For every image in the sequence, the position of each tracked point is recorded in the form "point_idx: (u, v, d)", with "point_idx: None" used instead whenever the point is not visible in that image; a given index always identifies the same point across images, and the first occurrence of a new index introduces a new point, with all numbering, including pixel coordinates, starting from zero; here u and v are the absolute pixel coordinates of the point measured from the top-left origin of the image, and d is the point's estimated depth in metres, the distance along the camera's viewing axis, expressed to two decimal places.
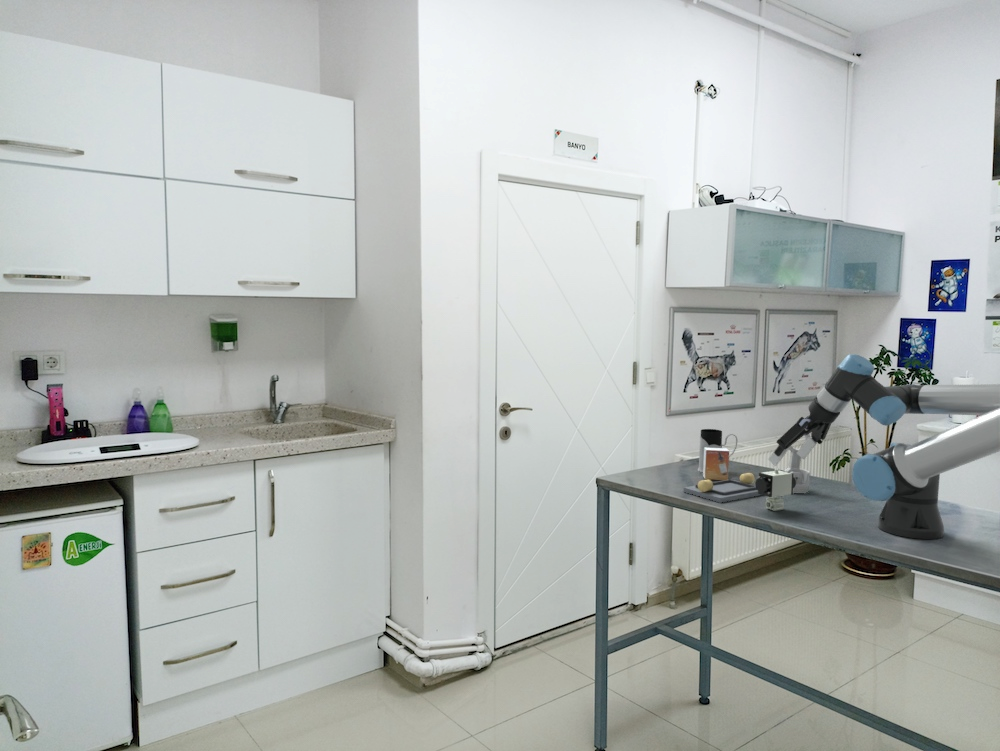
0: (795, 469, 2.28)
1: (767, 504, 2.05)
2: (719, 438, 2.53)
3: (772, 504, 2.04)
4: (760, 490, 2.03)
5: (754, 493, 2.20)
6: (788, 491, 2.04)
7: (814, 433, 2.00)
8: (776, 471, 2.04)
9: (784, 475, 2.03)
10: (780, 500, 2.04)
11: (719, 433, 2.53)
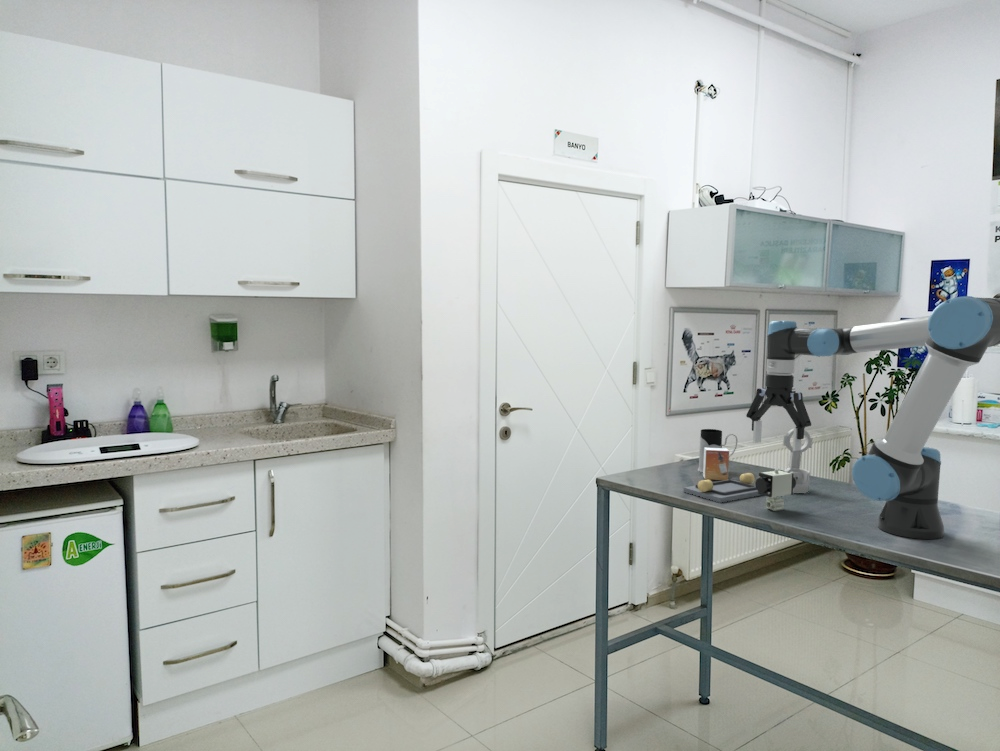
0: (795, 469, 2.28)
1: (767, 504, 2.05)
2: (719, 438, 2.53)
3: (772, 504, 2.04)
4: (760, 490, 2.03)
5: (754, 493, 2.20)
6: (788, 491, 2.04)
7: (762, 412, 2.08)
8: (776, 471, 2.04)
9: (784, 475, 2.03)
10: (780, 500, 2.04)
11: (719, 433, 2.53)
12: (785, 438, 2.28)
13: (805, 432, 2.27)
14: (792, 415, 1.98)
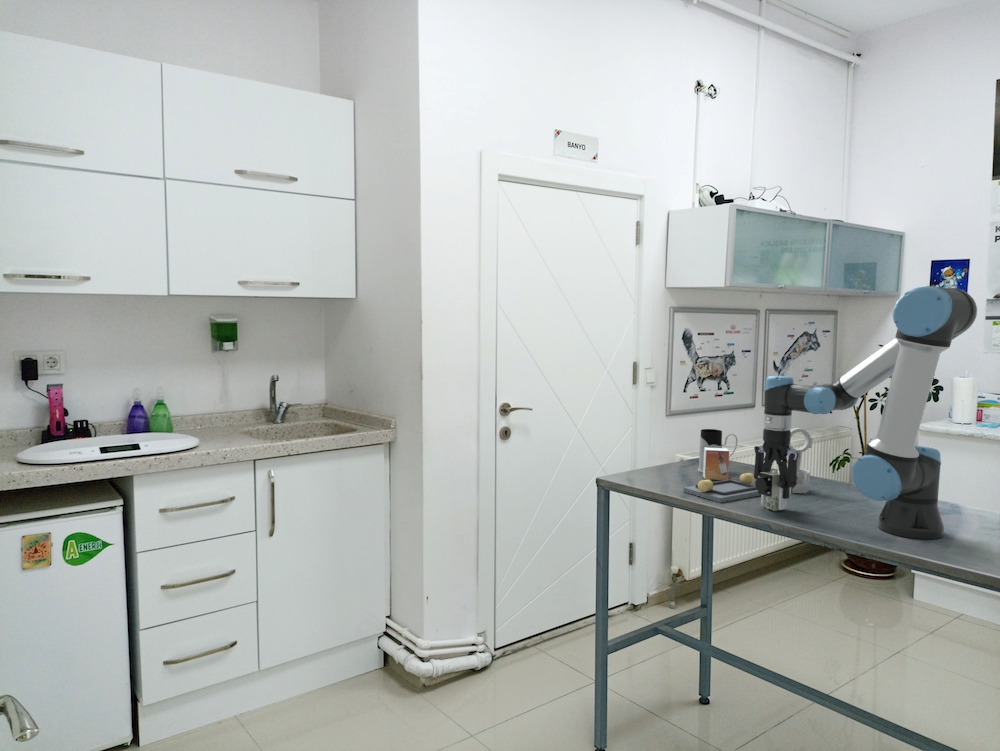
0: None
1: (767, 504, 2.05)
2: (719, 438, 2.53)
3: (772, 504, 2.04)
4: (760, 490, 2.03)
5: (754, 493, 2.20)
6: None
7: (767, 470, 2.07)
8: (776, 471, 2.05)
9: None
10: None
11: (719, 433, 2.53)
12: None
13: (805, 432, 2.27)
14: (782, 474, 2.02)
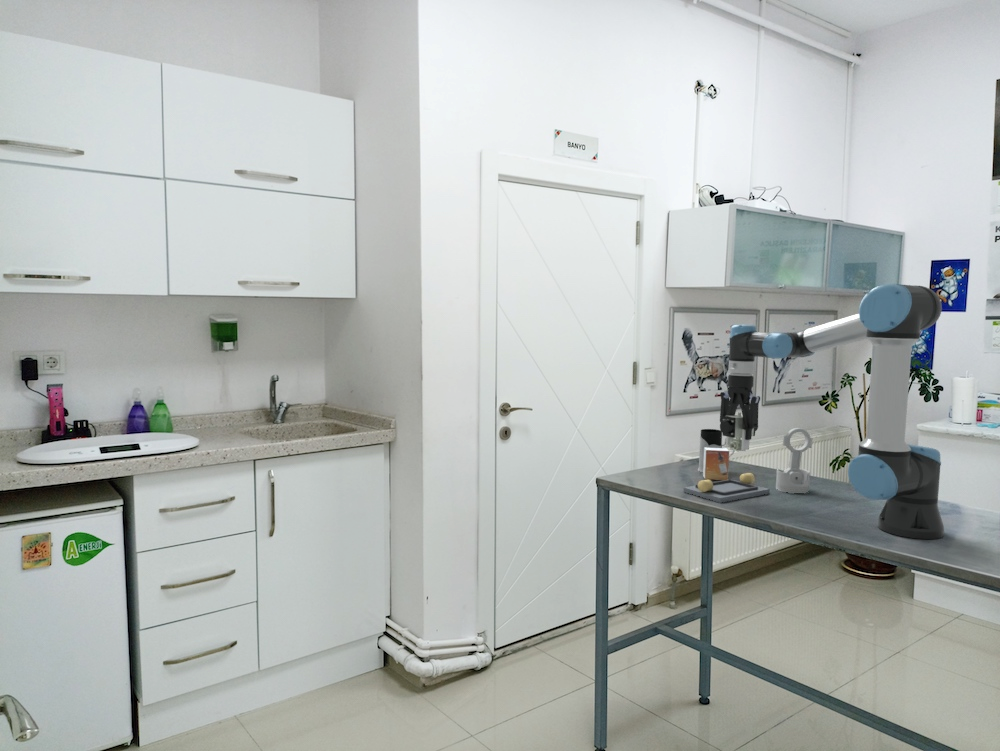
0: (795, 469, 2.28)
1: (731, 445, 2.19)
2: (719, 438, 2.53)
3: (735, 445, 2.17)
4: (724, 431, 2.16)
5: (754, 493, 2.20)
6: None
7: (732, 414, 2.21)
8: (739, 414, 2.18)
9: None
10: None
11: (719, 433, 2.53)
12: (785, 438, 2.28)
13: (805, 432, 2.27)
14: (744, 416, 2.15)
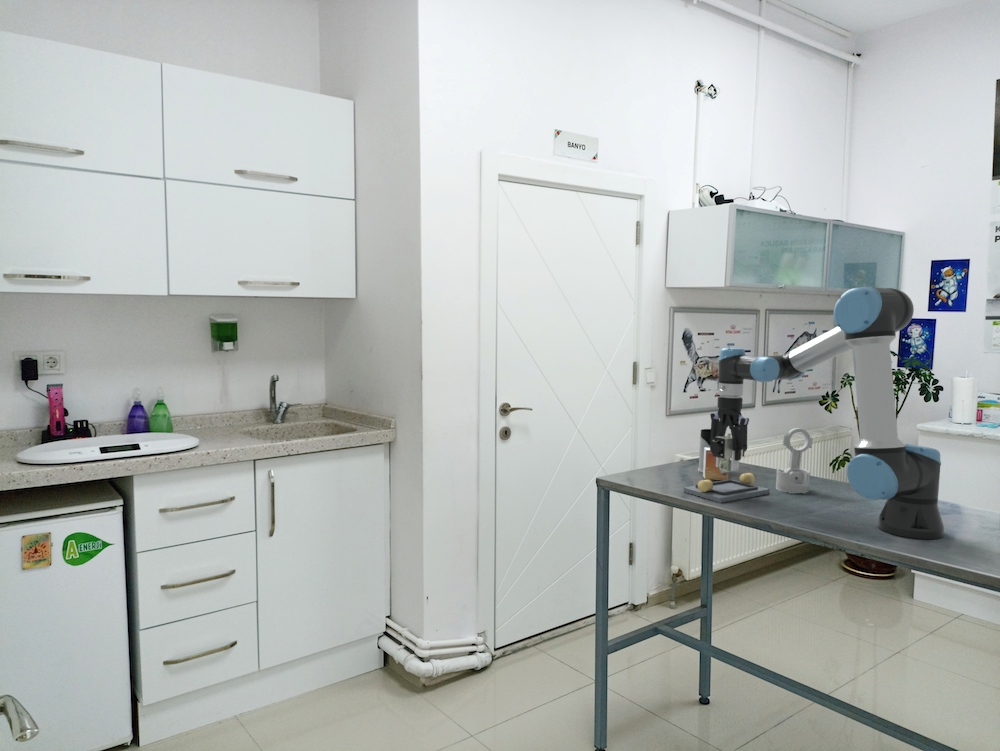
0: (795, 469, 2.28)
1: (721, 466, 2.23)
2: None
3: (725, 465, 2.22)
4: (714, 452, 2.21)
5: (754, 493, 2.20)
6: None
7: (722, 435, 2.25)
8: (729, 435, 2.23)
9: None
10: None
11: None
12: (785, 438, 2.28)
13: (805, 432, 2.27)
14: (734, 437, 2.20)
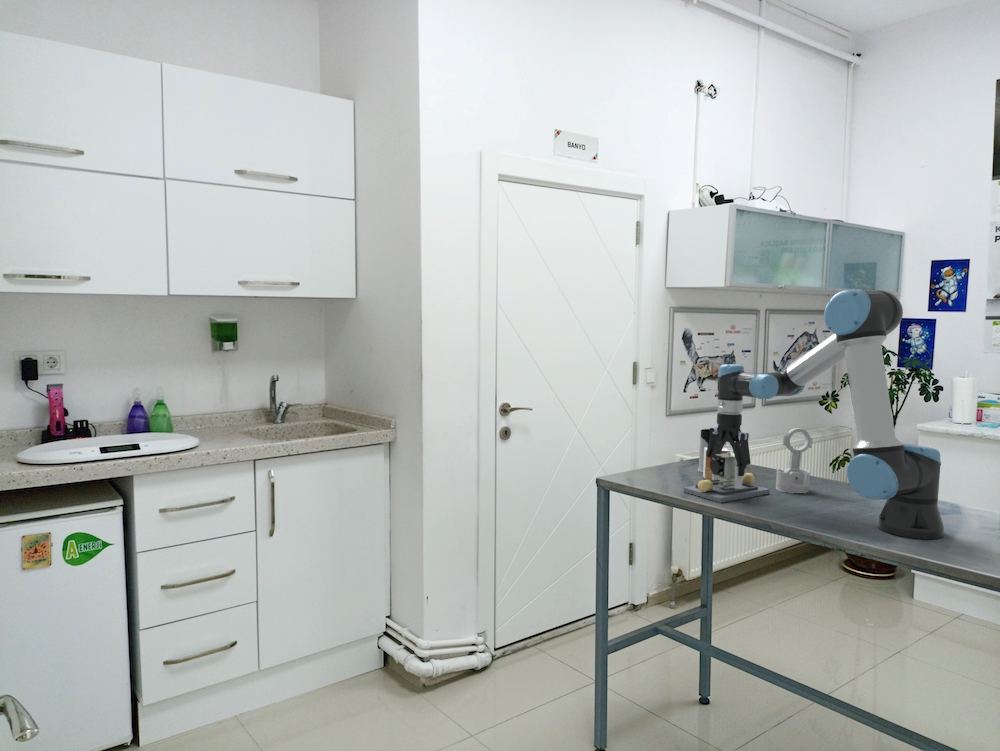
0: (795, 469, 2.28)
1: (720, 483, 2.24)
2: None
3: (725, 483, 2.22)
4: (714, 470, 2.21)
5: (754, 493, 2.20)
6: None
7: (719, 450, 2.26)
8: (729, 453, 2.23)
9: None
10: (732, 480, 2.23)
11: None
12: (785, 438, 2.28)
13: (805, 432, 2.27)
14: (736, 453, 2.19)
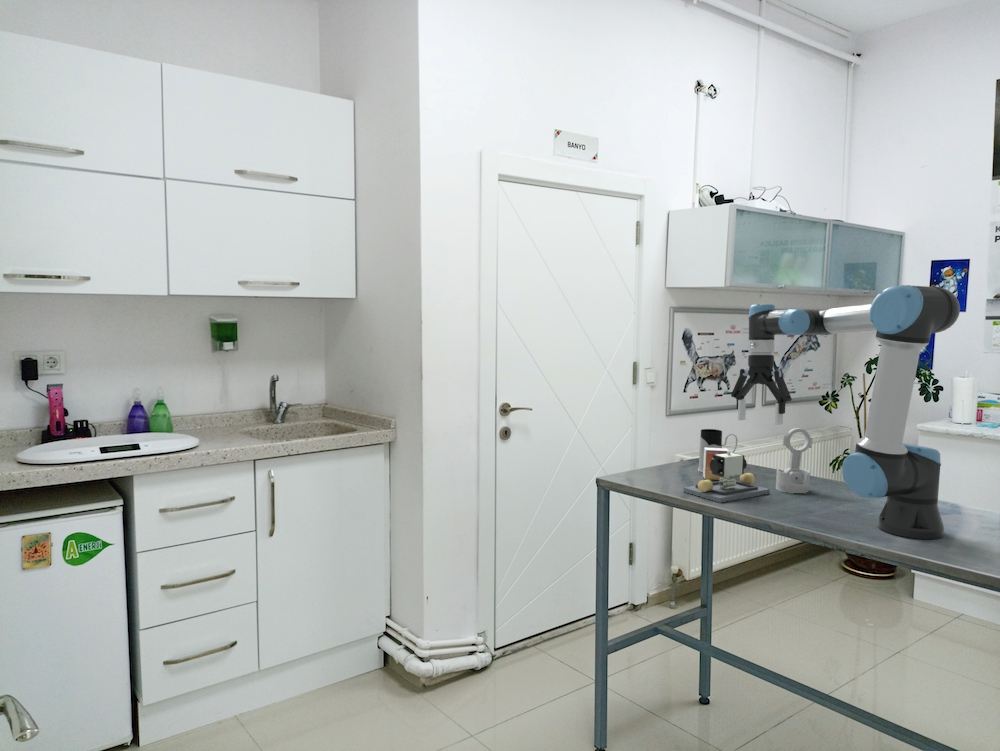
0: (795, 469, 2.28)
1: (720, 483, 2.24)
2: (719, 438, 2.53)
3: (725, 483, 2.22)
4: (713, 470, 2.21)
5: (754, 493, 2.20)
6: (739, 471, 2.23)
7: (746, 391, 2.21)
8: (728, 453, 2.23)
9: (735, 457, 2.22)
10: (732, 480, 2.23)
11: (719, 433, 2.53)
12: (785, 438, 2.28)
13: (805, 432, 2.27)
14: (774, 391, 2.12)
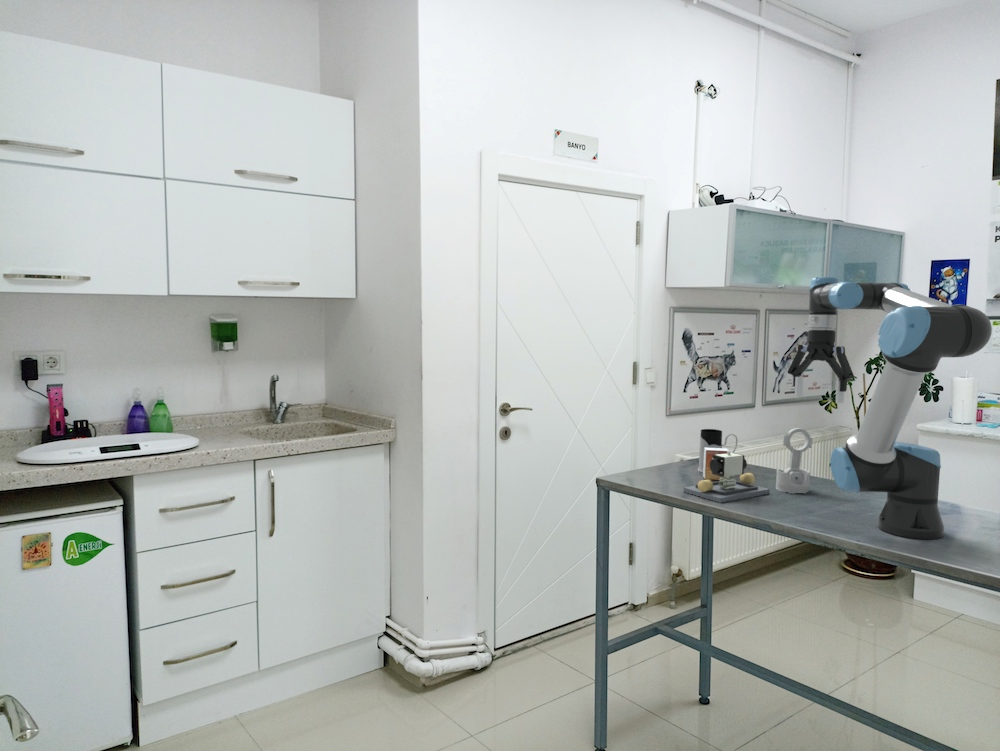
0: (795, 469, 2.28)
1: (720, 483, 2.24)
2: (719, 438, 2.53)
3: (725, 483, 2.22)
4: (713, 470, 2.21)
5: (754, 493, 2.20)
6: (739, 471, 2.23)
7: (804, 367, 2.14)
8: (728, 453, 2.23)
9: (735, 457, 2.22)
10: (732, 480, 2.23)
11: (719, 433, 2.53)
12: (785, 438, 2.28)
13: (805, 432, 2.27)
14: (835, 368, 2.04)
